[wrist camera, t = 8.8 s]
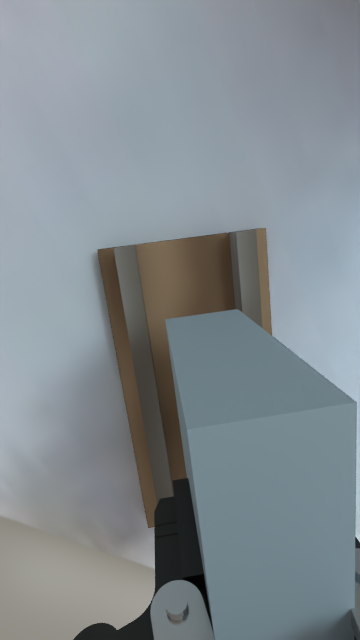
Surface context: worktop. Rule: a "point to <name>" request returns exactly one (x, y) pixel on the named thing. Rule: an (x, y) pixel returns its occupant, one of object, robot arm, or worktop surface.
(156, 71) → the worktop surface
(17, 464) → the worktop surface
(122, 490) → the worktop surface
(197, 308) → the door track
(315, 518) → the door panel
